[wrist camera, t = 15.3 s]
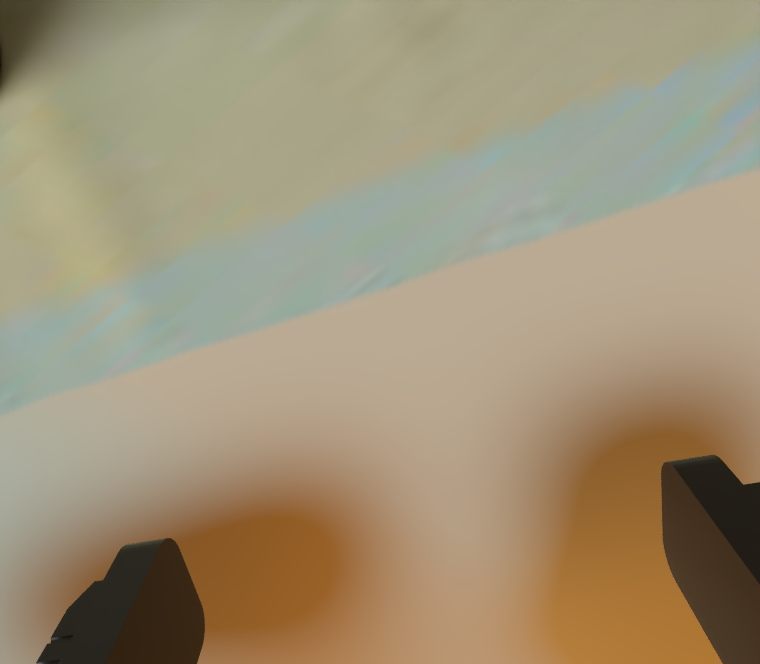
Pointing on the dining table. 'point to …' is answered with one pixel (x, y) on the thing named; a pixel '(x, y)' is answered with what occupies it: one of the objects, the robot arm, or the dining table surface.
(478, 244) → the dining table surface
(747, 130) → the dining table surface
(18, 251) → the dining table surface
